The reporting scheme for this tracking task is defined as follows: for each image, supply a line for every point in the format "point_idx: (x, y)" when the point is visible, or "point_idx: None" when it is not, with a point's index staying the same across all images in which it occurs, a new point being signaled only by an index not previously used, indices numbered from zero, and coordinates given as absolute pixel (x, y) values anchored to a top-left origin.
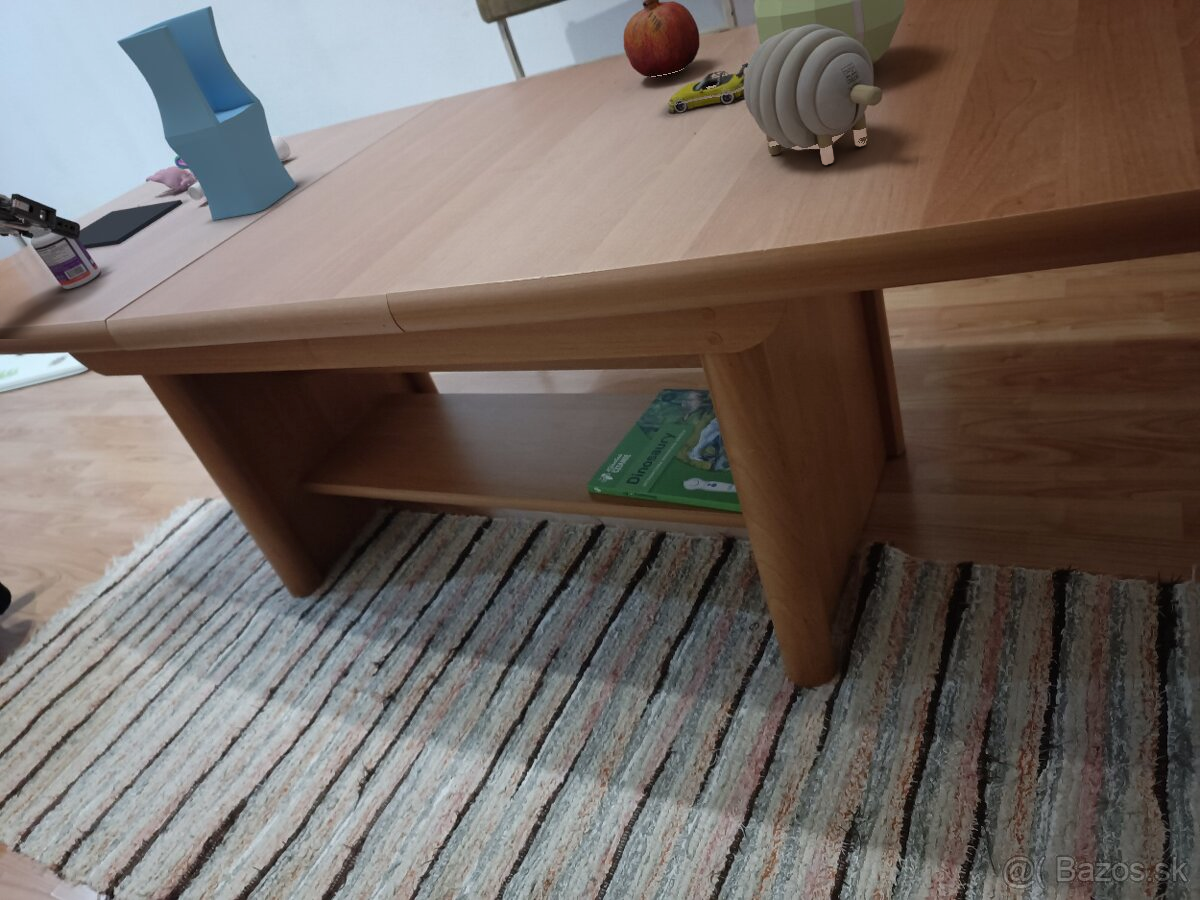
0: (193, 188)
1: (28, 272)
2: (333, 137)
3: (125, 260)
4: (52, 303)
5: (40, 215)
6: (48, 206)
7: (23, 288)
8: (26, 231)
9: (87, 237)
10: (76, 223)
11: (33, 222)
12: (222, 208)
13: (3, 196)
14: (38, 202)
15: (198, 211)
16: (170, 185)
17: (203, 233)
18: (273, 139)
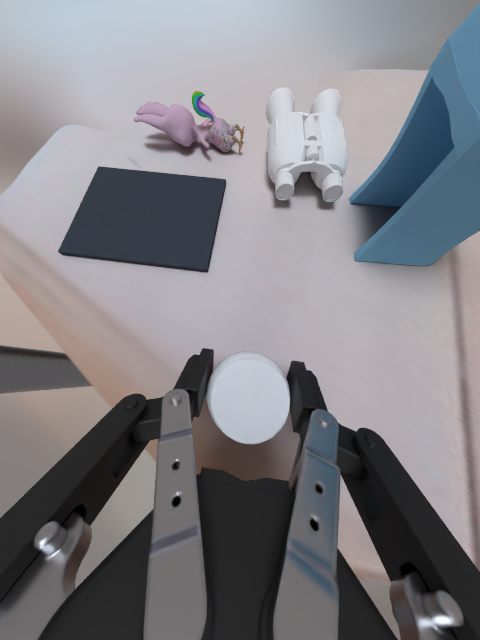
0: (287, 185)
1: (68, 309)
2: (344, 97)
3: (282, 338)
4: (250, 461)
5: (260, 396)
6: (403, 467)
7: (109, 370)
8: (199, 409)
9: (121, 237)
10: (304, 366)
11: (366, 524)
12: (386, 253)
13: (334, 604)
14: (439, 517)
15: (288, 220)
16: (184, 141)
17: (377, 297)
18: (335, 97)
